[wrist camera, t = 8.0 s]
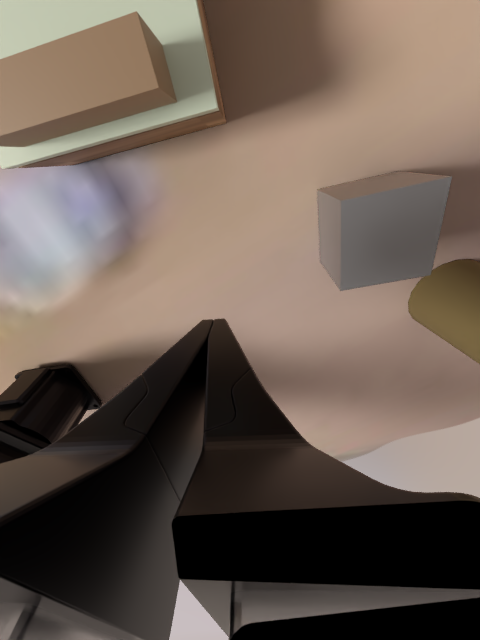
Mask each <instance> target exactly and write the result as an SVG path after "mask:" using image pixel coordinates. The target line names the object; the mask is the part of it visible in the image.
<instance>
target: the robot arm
mask: <svg viewBox="0 0 480 640" xmlns="http://www.w3.org/2000/svg"><path fill="white" fill-rule="evenodd" d="M15 378H16V381H15V382H14V383H13V384H12V385H10V386H9V387H8V388H7V389H6V390H5V391H4V392H3V393H2V394H1V395H0V640H169V637H170V631H171V626H172V620H173V615H174V609H175V604H176V598H177V592H178V587H179V581H180V580H181V581H182V582H183V583H184V585H185V586H186V587H187V588H188V589H189V591H190V592H191V593H192V594H193V595H194V596H195V598H196V599H197V600H198V601H199V602H200V604H201V605H202V606H203V607H204V608H205V609H206V611H207V612H208V613H209V614H210V615H211V617H212V618H213V619H214V620H215V621H216V623H217V624H218V625H219V626H220V627H221V629H222V630H223V631H224V632H225V633H226V634H227V636H228V637H229V640H480V498H478V497H476V496H473V495H469V494H464V493H453V492H434V493H422V492H411V491H405V490H401V489H397V488H394V487H391V486H387V485H384V484H382V483H380V482H378V481H376V480H373V479H371V478H370V477H368V476H366V475H364V474H363V473H361V472H359V471H357V470H355V469H353V468H351V467H349V466H348V465H346V464H344V463H342V462H340V461H338V460H337V459H335V458H333V457H331V456H329V455H327V454H326V453H324V452H322V451H320V450H318V449H316V448H315V447H313V446H312V445H311V444H309V443H308V442H307V441H306V440H305V439H304V438H303V437H302V436H301V435H300V434H299V432H298V431H297V430H296V429H295V428H294V426H293V425H292V424H291V422H290V421H289V420H288V419H287V417H286V416H285V415H284V414H283V412H282V411H281V410H280V409H279V407H278V406H277V405H276V404H275V402H274V401H273V400H272V398H271V397H270V396H269V394H268V393H267V392H266V390H265V389H264V387H263V386H262V384H261V382H260V381H259V379H258V378H257V376H256V374H255V372H254V370H253V369H252V367H251V365H250V363H249V361H248V360H247V358H246V356H245V354H244V352H243V350H242V349H241V347H240V345H239V343H238V341H237V339H236V338H235V336H234V334H233V332H232V330H231V328H230V327H229V325H228V323H227V321H226V319H215V320H212V319H211V320H202V321H201V322H200V323H199V324H197V325H196V326H195V327H194V328H193V329H192V330H191V331H190V332H188V333H187V334H186V335H185V336H184V337H183V338H182V339H180V340H179V341H178V342H177V343H176V344H175V345H174V346H173V347H171V348H170V349H169V350H168V351H167V352H166V353H165V354H164V355H162V356H161V357H160V358H159V359H158V360H157V361H156V362H154V363H153V364H152V365H151V366H150V367H149V368H148V369H147V370H145V371H144V372H143V373H142V375H140V376H139V377H137V378H136V379H135V380H134V381H133V382H132V383H131V384H129V385H128V386H127V387H126V388H125V389H124V390H122V391H121V392H120V393H119V394H118V395H116V396H115V397H114V398H112V399H111V400H110V401H109V402H107V403H106V404H105V405H103V406H102V407H101V405H102V402H101V401H100V400H99V399H98V397H97V396H96V395H95V393H94V392H93V391H92V390H91V388H90V387H89V386H88V385H87V383H86V382H85V381H84V379H83V378H82V377H81V376H80V374H79V373H78V372H77V371H76V369H75V368H74V367H73V366H71V365H61V366H55V367H49V368H41V369H35V370H28V371H23V372H19V373H17V374H16V375H15ZM100 407H101V408H100ZM99 408H100V409H99ZM92 409H98V410H97V411H96V412H94V413H93V414H92V415H90V416H89V417H88V418H86V419H85V420H84V421H82V422H81V423H80V424H79V422H80V421H81V419H82V417H83V416H84V414H85V413H86V411H87V410H92Z"/></svg>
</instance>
